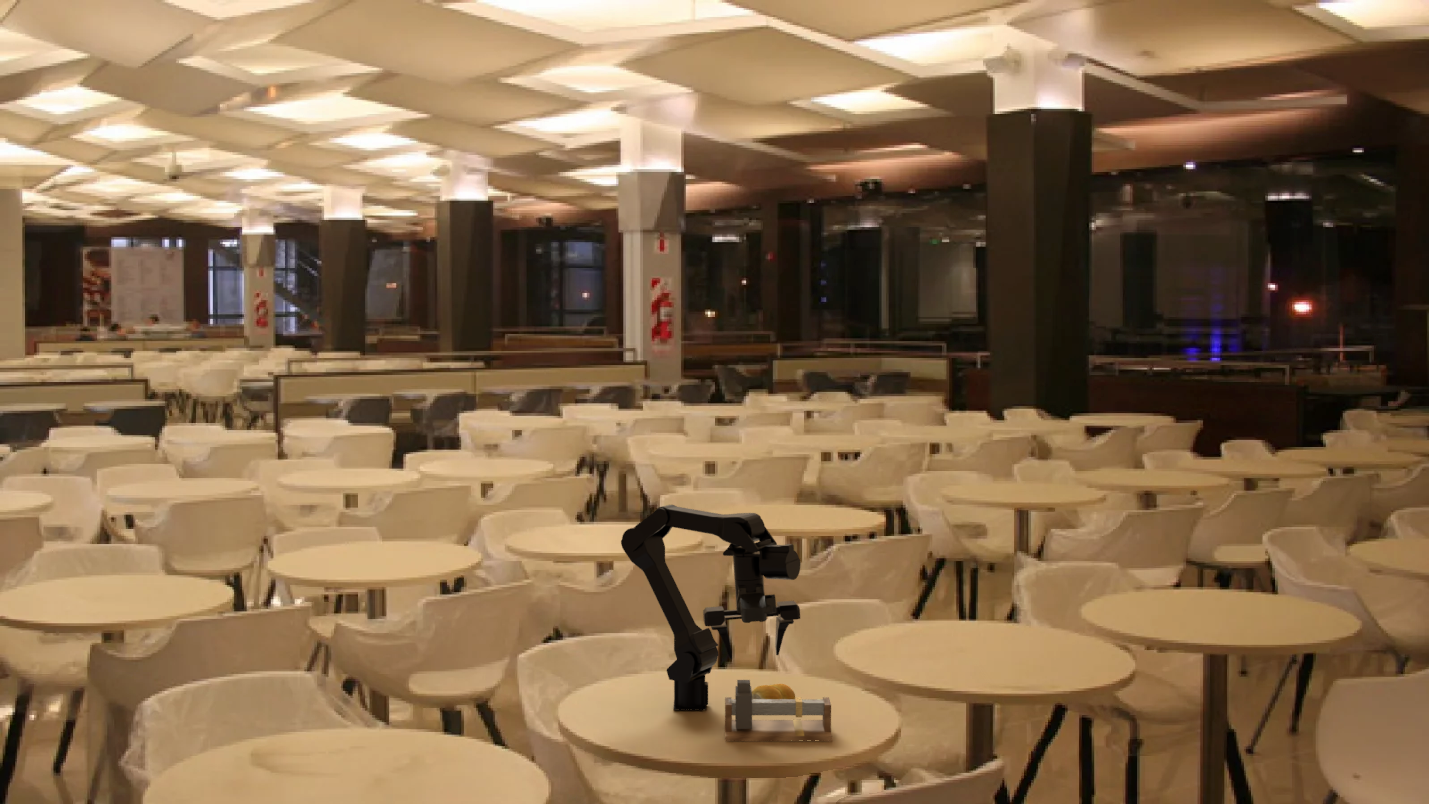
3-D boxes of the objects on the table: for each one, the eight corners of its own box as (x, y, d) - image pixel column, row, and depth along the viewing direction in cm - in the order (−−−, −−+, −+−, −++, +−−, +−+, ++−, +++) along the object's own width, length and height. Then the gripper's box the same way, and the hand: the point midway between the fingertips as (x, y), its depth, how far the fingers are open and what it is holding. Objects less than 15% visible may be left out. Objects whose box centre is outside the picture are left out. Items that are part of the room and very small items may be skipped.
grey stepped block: (736, 728, 274) (736, 686, 273) (735, 718, 280) (735, 677, 280) (751, 728, 274) (752, 686, 273) (750, 718, 280) (751, 677, 280)
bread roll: (802, 704, 297) (802, 685, 296) (766, 711, 292) (766, 692, 291) (778, 694, 303) (779, 675, 303) (743, 701, 299) (743, 682, 298)
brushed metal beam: (728, 717, 275) (728, 701, 275) (728, 712, 278) (728, 697, 278) (827, 717, 276) (827, 701, 275) (826, 712, 279) (826, 697, 278)
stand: (725, 741, 272) (725, 708, 272) (724, 724, 282) (725, 693, 282) (832, 741, 272) (832, 709, 272) (827, 724, 282) (827, 693, 282)
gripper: (704, 588, 276) (709, 669, 277) (801, 581, 277) (806, 662, 278) (700, 579, 287) (705, 657, 288) (794, 572, 288) (799, 649, 289)
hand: (754, 656), depth 285 cm, fingers open, 9 cm apart
